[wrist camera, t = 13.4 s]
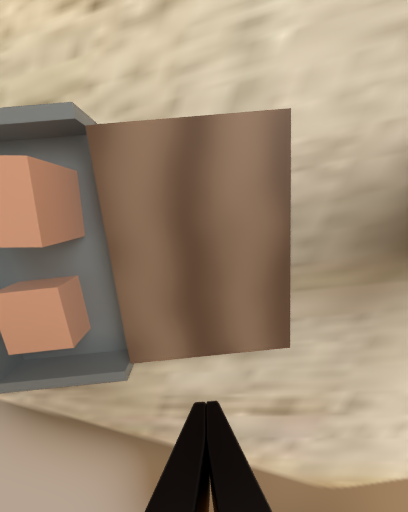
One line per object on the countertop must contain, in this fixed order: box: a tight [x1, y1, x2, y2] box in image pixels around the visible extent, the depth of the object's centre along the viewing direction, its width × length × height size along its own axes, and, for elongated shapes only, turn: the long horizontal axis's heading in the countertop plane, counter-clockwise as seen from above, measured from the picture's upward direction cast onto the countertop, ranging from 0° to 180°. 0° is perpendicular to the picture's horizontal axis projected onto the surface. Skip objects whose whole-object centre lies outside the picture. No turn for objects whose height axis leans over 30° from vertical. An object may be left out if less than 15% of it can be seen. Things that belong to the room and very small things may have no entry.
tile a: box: [0, 155, 85, 248], centre depth 13 cm, size 4×4×2 cm
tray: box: [0, 102, 134, 393], centre depth 15 cm, size 10×18×3 cm, turn 5°
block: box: [0, 275, 91, 355], centre depth 16 cm, size 4×4×2 cm
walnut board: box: [85, 108, 291, 364], centre depth 15 cm, size 12×16×2 cm
